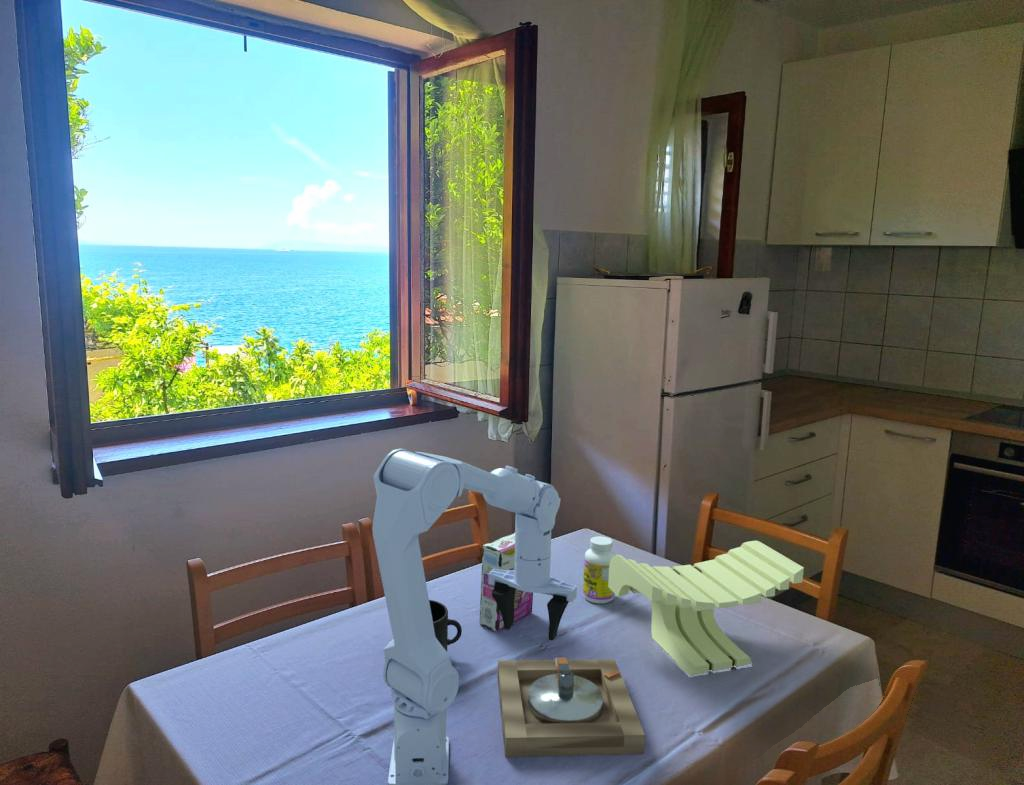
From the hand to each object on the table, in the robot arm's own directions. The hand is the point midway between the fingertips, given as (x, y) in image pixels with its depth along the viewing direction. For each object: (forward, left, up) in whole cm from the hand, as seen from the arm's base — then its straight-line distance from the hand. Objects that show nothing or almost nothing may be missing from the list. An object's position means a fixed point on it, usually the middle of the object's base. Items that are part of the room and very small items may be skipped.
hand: (530, 632), depth 115 cm
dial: (-6, -5, -9) cm, 12 cm away
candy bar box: (+24, +2, -10) cm, 26 cm away
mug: (+10, +17, -10) cm, 22 cm away
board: (-6, -5, -10) cm, 13 cm away
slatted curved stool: (+12, -33, -10) cm, 36 cm away
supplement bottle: (+33, -18, -10) cm, 39 cm away
